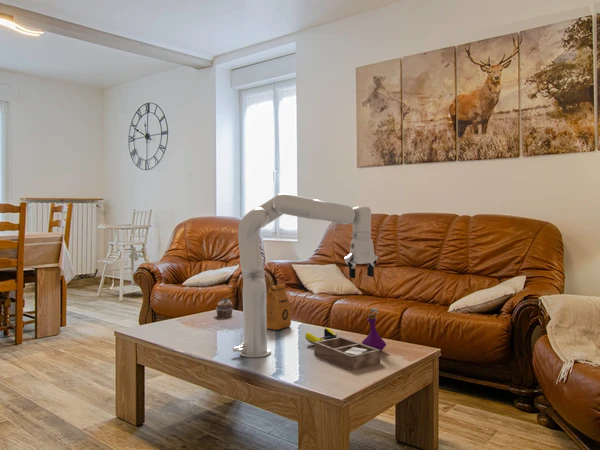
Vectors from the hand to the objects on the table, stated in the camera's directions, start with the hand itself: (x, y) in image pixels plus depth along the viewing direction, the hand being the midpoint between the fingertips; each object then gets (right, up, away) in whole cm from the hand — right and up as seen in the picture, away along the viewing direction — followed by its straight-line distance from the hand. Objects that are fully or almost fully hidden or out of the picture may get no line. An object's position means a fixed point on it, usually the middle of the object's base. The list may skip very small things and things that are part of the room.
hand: (361, 277), depth 198 cm
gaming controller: (-15, -31, +11) cm, 36 cm away
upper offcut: (-4, -29, -16) cm, 34 cm away
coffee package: (-37, -30, +40) cm, 62 cm away
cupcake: (-68, -30, +71) cm, 103 cm away
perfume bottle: (+5, -31, -2) cm, 31 cm away
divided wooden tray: (-7, -31, -11) cm, 34 cm away
